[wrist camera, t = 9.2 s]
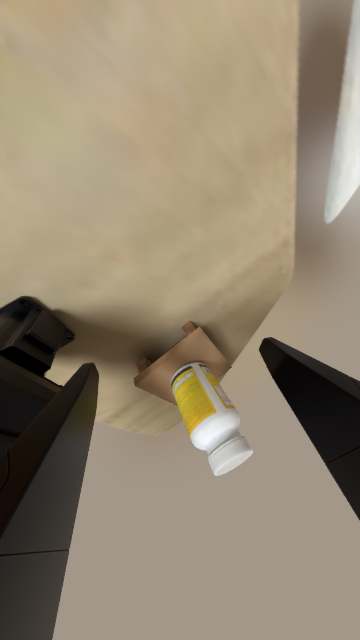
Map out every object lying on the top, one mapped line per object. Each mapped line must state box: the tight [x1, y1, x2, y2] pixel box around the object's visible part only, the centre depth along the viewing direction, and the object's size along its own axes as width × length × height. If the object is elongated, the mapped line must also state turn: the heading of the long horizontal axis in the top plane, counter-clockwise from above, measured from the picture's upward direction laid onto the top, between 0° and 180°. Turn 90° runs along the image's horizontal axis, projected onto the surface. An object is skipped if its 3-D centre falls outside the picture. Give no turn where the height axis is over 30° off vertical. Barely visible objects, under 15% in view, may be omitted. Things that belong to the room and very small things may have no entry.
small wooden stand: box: [134, 321, 232, 406], centre depth 27 cm, size 12×12×4 cm
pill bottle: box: [171, 362, 253, 476], centre depth 21 cm, size 6×6×12 cm
